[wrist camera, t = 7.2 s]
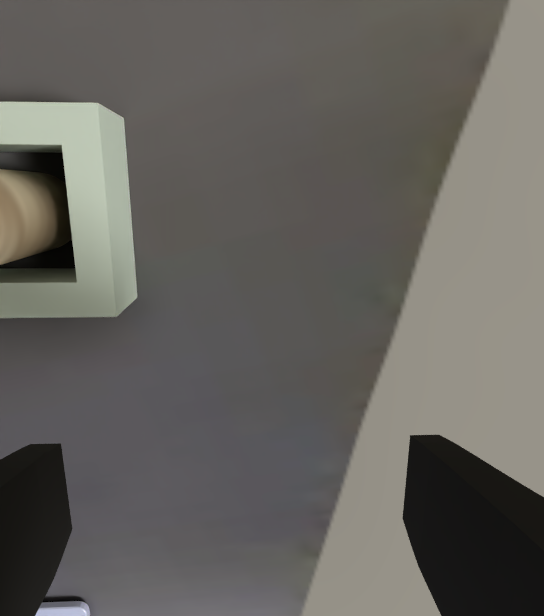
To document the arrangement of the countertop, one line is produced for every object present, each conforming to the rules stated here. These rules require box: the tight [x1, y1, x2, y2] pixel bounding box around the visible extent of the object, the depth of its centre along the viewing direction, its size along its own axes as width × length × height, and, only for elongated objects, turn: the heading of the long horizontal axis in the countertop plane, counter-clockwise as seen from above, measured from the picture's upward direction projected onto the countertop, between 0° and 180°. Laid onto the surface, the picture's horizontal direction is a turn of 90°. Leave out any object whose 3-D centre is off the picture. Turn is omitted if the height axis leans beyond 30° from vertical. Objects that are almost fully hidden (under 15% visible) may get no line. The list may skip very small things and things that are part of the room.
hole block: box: [0, 102, 137, 318], centre depth 16 cm, size 7×7×3 cm
